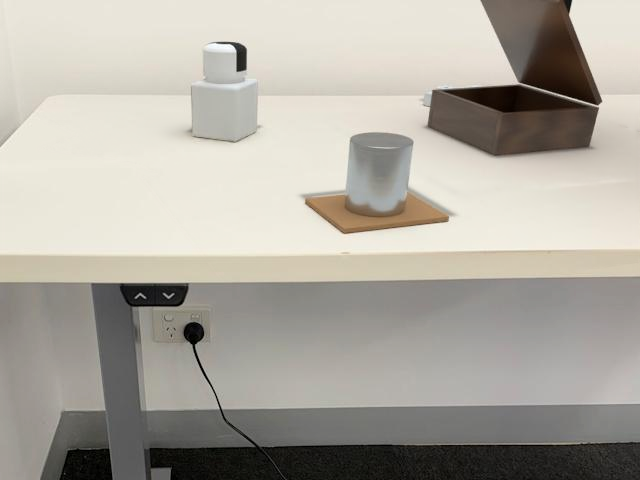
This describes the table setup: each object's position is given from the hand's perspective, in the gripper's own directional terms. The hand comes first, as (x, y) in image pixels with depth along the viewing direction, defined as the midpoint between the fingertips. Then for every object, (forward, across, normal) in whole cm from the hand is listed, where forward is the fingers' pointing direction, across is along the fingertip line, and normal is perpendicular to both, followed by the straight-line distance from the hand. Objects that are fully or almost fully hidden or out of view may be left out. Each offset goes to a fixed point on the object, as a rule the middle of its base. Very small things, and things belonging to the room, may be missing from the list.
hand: (553, 22), depth 99 cm
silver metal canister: (+15, -21, +35) cm, 44 cm away
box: (+15, 0, +4) cm, 16 cm away
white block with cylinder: (+15, +16, +40) cm, 46 cm away
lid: (+3, 0, +2) cm, 4 cm away
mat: (+15, -21, +35) cm, 44 cm away
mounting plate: (+15, +21, -6) cm, 27 cm away
